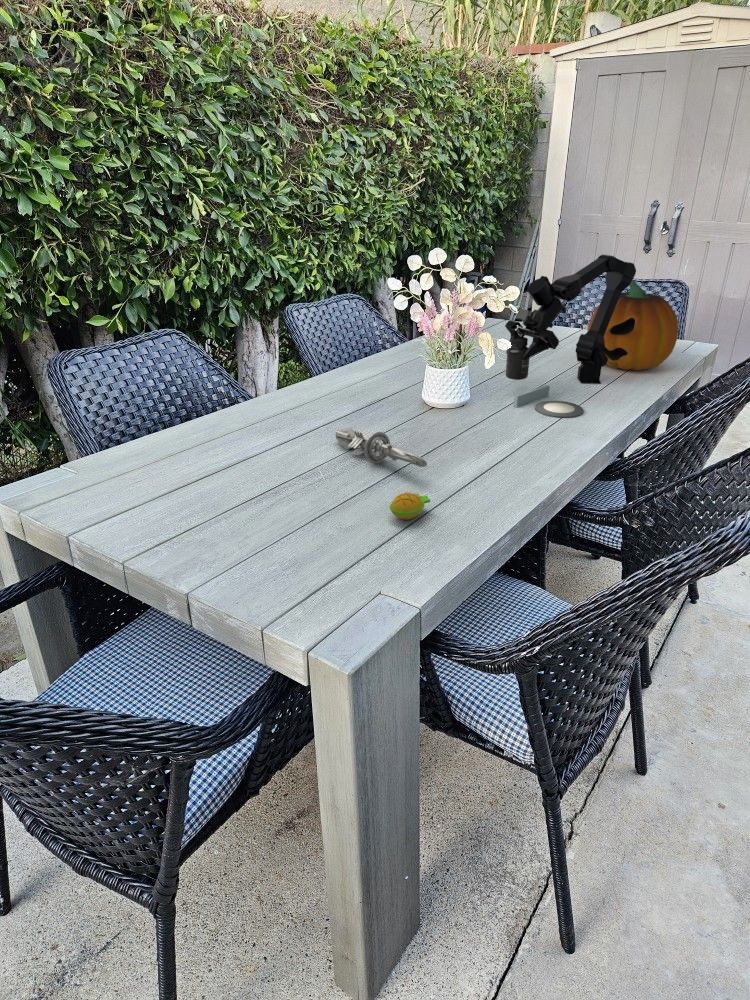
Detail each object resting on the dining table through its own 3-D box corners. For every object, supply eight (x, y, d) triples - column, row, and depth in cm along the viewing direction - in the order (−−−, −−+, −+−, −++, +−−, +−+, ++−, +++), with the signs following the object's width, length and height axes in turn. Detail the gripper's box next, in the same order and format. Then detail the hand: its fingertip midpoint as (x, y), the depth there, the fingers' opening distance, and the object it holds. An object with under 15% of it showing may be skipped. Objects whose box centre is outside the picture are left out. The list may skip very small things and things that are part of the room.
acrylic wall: (544, 395, 216) (546, 384, 214) (548, 396, 215) (549, 385, 213) (513, 406, 206) (514, 395, 205) (516, 407, 206) (517, 396, 204)
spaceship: (409, 459, 150) (433, 439, 153) (319, 430, 176) (341, 413, 179) (420, 487, 154) (443, 466, 157) (331, 455, 180) (352, 437, 183)
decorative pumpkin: (566, 359, 254) (577, 276, 241) (627, 351, 265) (641, 271, 252) (623, 381, 230) (639, 289, 216) (688, 371, 241) (707, 283, 228)
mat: (577, 402, 210) (577, 400, 209) (588, 418, 197) (588, 416, 197) (531, 401, 210) (531, 399, 210) (539, 417, 198) (539, 415, 197)
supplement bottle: (524, 373, 214) (528, 335, 209) (529, 380, 208) (534, 341, 203) (503, 373, 214) (506, 335, 208) (507, 380, 208) (511, 341, 202)
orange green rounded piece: (382, 519, 142) (382, 496, 139) (408, 502, 149) (409, 480, 147) (410, 529, 138) (411, 505, 136) (435, 510, 146) (436, 488, 143)
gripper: (512, 293, 209) (481, 334, 209) (556, 303, 195) (524, 347, 195) (528, 316, 217) (499, 355, 217) (572, 327, 203) (541, 369, 202)
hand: (515, 356), depth 207 cm, fingers closed on supplement bottle, 7 cm apart
